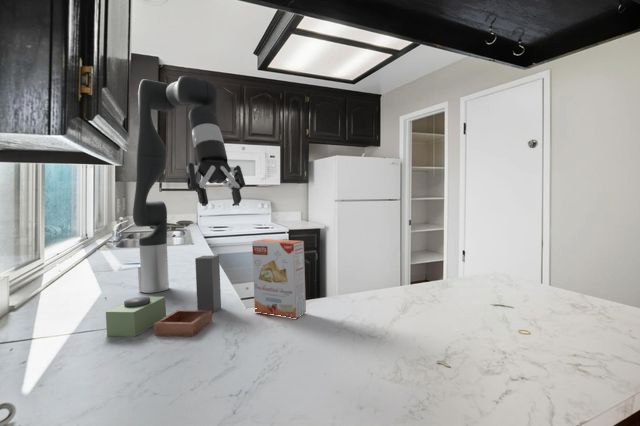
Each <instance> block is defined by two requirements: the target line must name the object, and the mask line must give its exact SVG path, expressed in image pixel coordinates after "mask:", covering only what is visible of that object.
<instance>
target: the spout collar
mask: <svg viewBox="0 0 640 426" xmlns="http://www.w3.org/2000/svg"><path fill="white" fill-rule="evenodd" d="M212 322H213V313H212V310H194V309H193V310H192V309H191V310H190V309H176V310H174V311H173V312H171V313H169V314H166V317H164V318H162V319H161V320H159V321H157V322H156V323H154V326H153V327H154V336H158V337H159V336H160V337H161V336H164V337H195V336H196V335H197V334H198V333H200V332H201V331H202V330H203V329H205V328H206V327H207V326H208V325H210V324H211V323H212Z"/></svg>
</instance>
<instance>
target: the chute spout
mask: <svg viewBox="0 0 640 426" xmlns="http://www.w3.org/2000/svg"><path fill="white" fill-rule="evenodd" d="M194 263H195V281H196V284H195V285H196V303H197V304H196V305H197V306H196V308H197V310H212V314H215V313H216V312H218V311H219V310H220V309H222V293H221V274H220V273H221V272H220V271H221V269H220V267H221V266H220V255H201V256H199V257H196V258H195V262H194Z"/></svg>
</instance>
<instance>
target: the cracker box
mask: <svg viewBox="0 0 640 426" xmlns="http://www.w3.org/2000/svg"><path fill="white" fill-rule="evenodd" d="M251 244H252V265H253V266H252V267H253V268H252V271H253V297H254V298H253V299H254V313H255V312H261V313H267V314H274V315H281V316H286V317H291V318H297V317H299V316H300V315H302V314H304V313H305V312H307V311H306V310H307V307H306V304H307V303H306V301H307V300H306V274H305V271H306V269H305V268H306V267H305V265H306V264H305V241H304V240H293V239H292V240H289V239H271V238H270V239H269V238H263V239H256V240H253V241H252V242H251ZM255 308H257V309H255ZM305 314H306V313H305ZM305 314H304V315H305ZM302 316H303V315H302ZM300 317H301V316H300ZM300 317H299V318H300ZM297 319H298V318H297Z"/></svg>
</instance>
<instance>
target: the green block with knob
mask: <svg viewBox="0 0 640 426" xmlns="http://www.w3.org/2000/svg"><path fill="white" fill-rule="evenodd" d="M166 302H167V301H166V296H138V297H132V298H129V299H126V300H124V303H122V304H120V305H118V306H115V307H114V308H111V309H109V310H107V311H105V322H106V336H107V337H129V338H131V337H133V338H134V337H137V336H139V335H140V334H142V333H143V332H146V331H147V330H149V329H150V328H152V327H154V323H156V322H157V321H159V320H161V319H162V318H164V317H166V316H167V309H166V308H167V306H166Z"/></svg>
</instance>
